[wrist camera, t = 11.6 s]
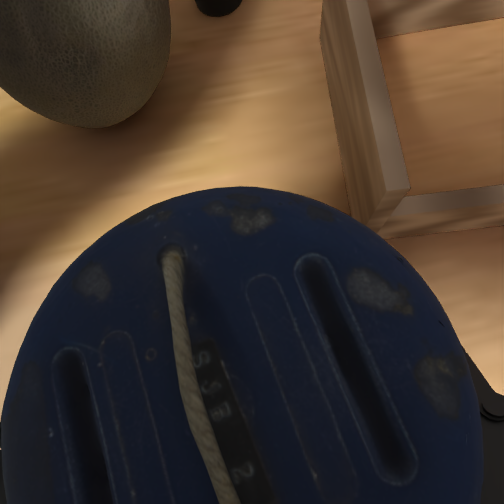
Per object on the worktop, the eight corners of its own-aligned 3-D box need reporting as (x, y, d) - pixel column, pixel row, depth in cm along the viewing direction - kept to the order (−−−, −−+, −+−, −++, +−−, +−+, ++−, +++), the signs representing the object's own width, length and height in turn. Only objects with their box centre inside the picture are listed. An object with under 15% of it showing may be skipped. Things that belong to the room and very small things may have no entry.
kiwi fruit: (115, 191, 30) (-51, 47, 15) (26, 107, 33) (-174, -72, 19) (226, 84, 31) (169, -137, 17) (129, 15, 35) (16, -214, 21)
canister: (335, 281, 23) (460, 90, 6) (362, 436, 20) (738, 922, 3) (197, 298, 24) (-51, 173, 7) (206, 449, 21) (-167, 896, 4)
